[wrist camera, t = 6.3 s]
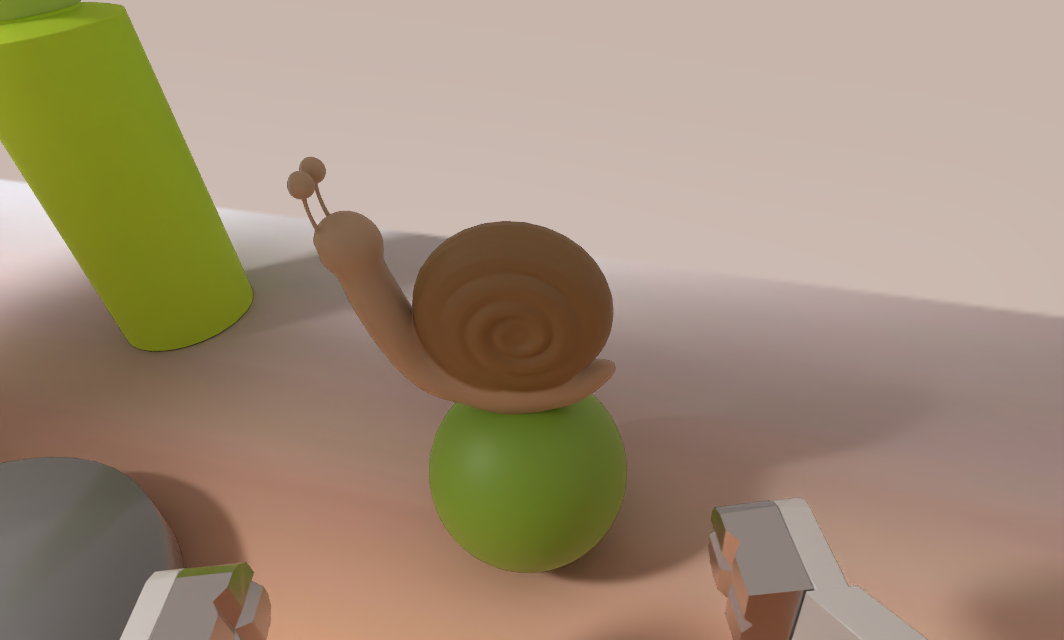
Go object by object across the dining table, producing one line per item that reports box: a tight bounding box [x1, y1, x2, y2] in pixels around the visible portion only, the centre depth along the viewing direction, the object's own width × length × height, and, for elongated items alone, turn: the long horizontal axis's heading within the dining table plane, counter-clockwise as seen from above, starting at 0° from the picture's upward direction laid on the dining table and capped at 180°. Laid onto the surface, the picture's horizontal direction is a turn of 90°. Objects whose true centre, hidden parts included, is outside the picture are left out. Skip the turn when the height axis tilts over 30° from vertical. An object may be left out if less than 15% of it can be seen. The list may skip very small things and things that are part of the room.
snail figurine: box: [287, 157, 627, 573], centre depth 16 cm, size 5×6×12 cm
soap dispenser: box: [0, 0, 253, 351], centre depth 25 cm, size 6×7×20 cm
